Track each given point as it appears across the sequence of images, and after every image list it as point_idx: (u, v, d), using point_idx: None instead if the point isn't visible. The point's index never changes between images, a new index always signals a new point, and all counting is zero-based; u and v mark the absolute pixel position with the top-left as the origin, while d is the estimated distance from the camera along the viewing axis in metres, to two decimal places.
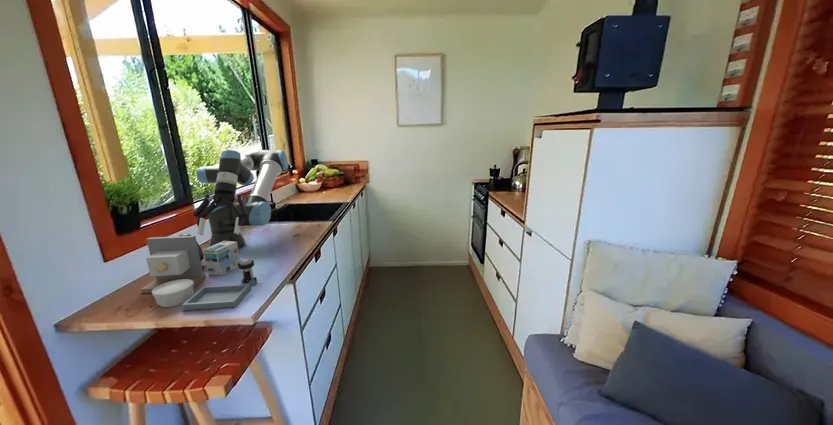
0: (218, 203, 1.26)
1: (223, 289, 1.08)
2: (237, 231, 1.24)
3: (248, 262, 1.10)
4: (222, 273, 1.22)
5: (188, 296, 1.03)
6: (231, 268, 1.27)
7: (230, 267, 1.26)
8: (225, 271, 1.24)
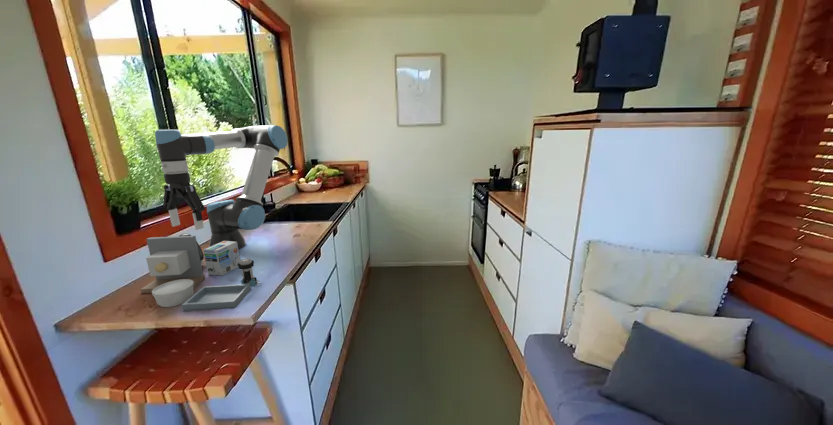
0: (175, 195, 1.17)
1: (223, 289, 1.08)
2: (199, 227, 1.18)
3: (248, 262, 1.10)
4: (222, 273, 1.22)
5: (188, 296, 1.03)
6: (231, 268, 1.27)
7: (230, 267, 1.26)
8: (225, 271, 1.24)
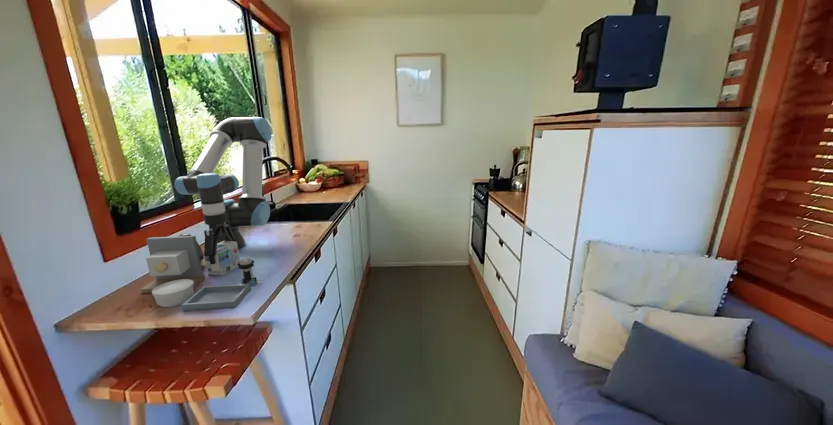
0: None
1: (223, 289, 1.08)
2: (214, 269, 1.20)
3: (248, 262, 1.10)
4: (222, 273, 1.22)
5: (188, 296, 1.03)
6: (231, 268, 1.27)
7: (230, 267, 1.26)
8: (225, 271, 1.24)
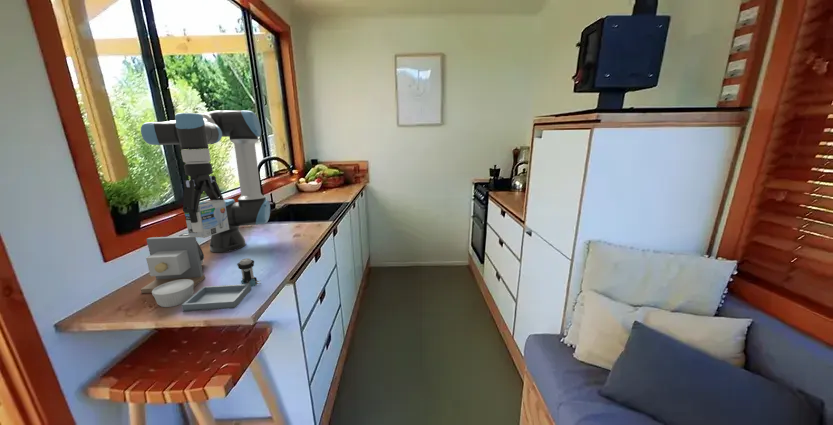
0: None
1: (223, 289, 1.08)
2: (195, 229, 1.00)
3: (248, 262, 1.10)
4: (206, 235, 1.02)
5: (188, 296, 1.03)
6: (217, 231, 1.06)
7: (216, 229, 1.05)
8: (209, 233, 1.03)
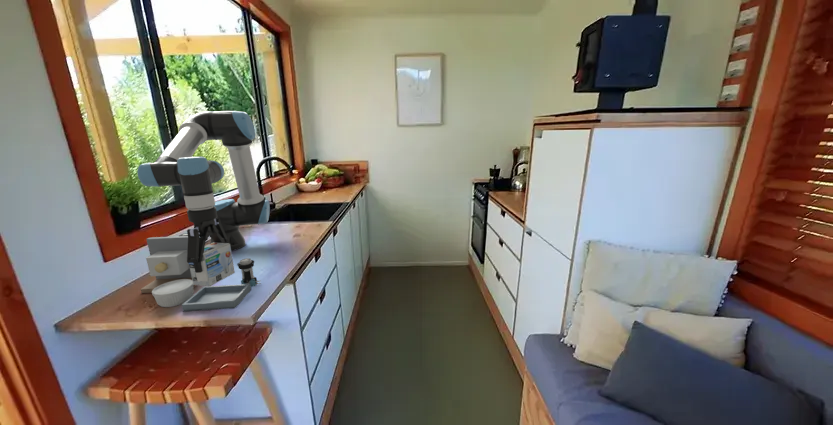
0: None
1: (223, 289, 1.08)
2: (200, 279, 0.95)
3: (248, 262, 1.10)
4: (211, 283, 0.97)
5: (188, 296, 1.03)
6: (223, 276, 1.01)
7: (222, 275, 1.01)
8: (215, 281, 0.98)
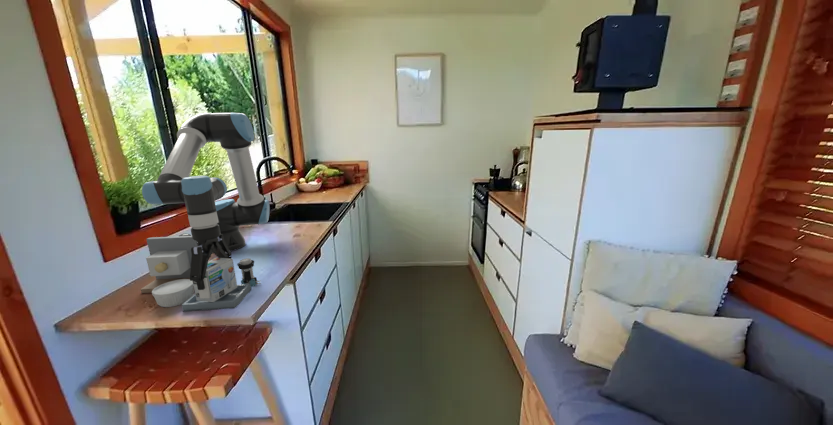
0: None
1: None
2: (203, 295, 0.96)
3: (248, 262, 1.10)
4: (214, 299, 0.98)
5: (188, 296, 1.03)
6: (225, 292, 1.02)
7: (224, 291, 1.02)
8: (218, 296, 0.99)
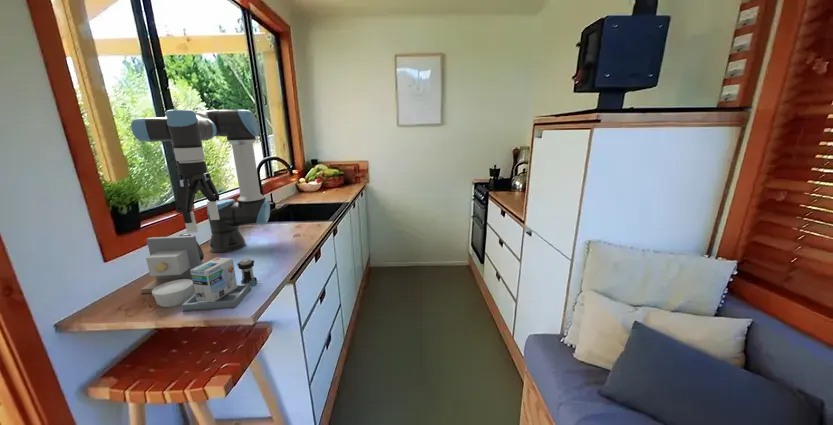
0: None
1: None
2: (190, 230, 0.96)
3: (248, 262, 1.10)
4: (214, 299, 0.98)
5: (188, 296, 1.03)
6: (225, 292, 1.02)
7: (224, 291, 1.02)
8: (218, 296, 0.99)
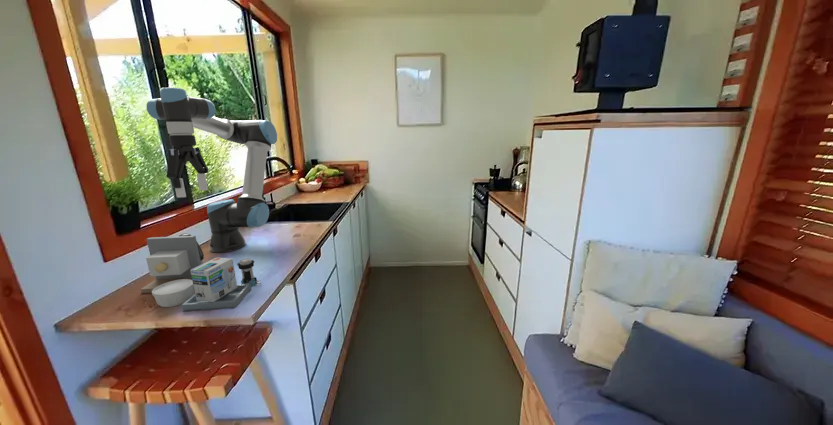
0: None
1: None
2: (179, 195, 1.08)
3: (248, 262, 1.10)
4: (214, 299, 0.98)
5: (188, 296, 1.03)
6: (225, 292, 1.02)
7: (224, 291, 1.02)
8: (218, 296, 0.99)
